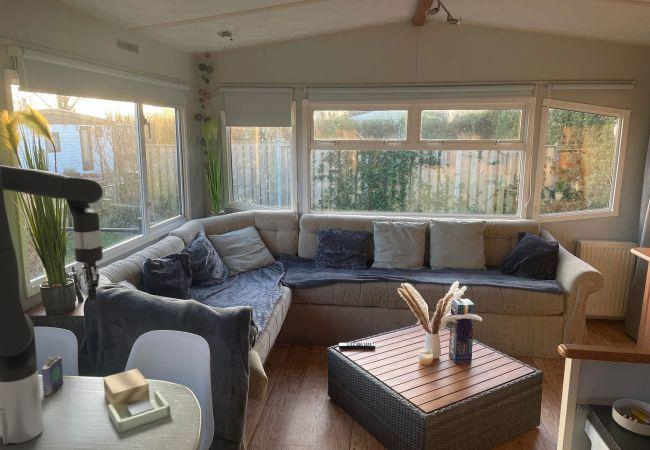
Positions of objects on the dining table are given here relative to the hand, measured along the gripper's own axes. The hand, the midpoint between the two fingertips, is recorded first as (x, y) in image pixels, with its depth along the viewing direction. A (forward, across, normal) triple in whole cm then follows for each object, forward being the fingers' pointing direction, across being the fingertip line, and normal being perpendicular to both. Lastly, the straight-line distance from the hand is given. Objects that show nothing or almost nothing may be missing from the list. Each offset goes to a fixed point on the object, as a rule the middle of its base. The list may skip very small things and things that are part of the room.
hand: (92, 299), depth 147 cm
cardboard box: (+29, +13, +5) cm, 32 cm away
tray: (+29, +24, +6) cm, 38 cm away
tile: (+26, +24, +6) cm, 36 cm away
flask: (+29, -7, -12) cm, 32 cm away
